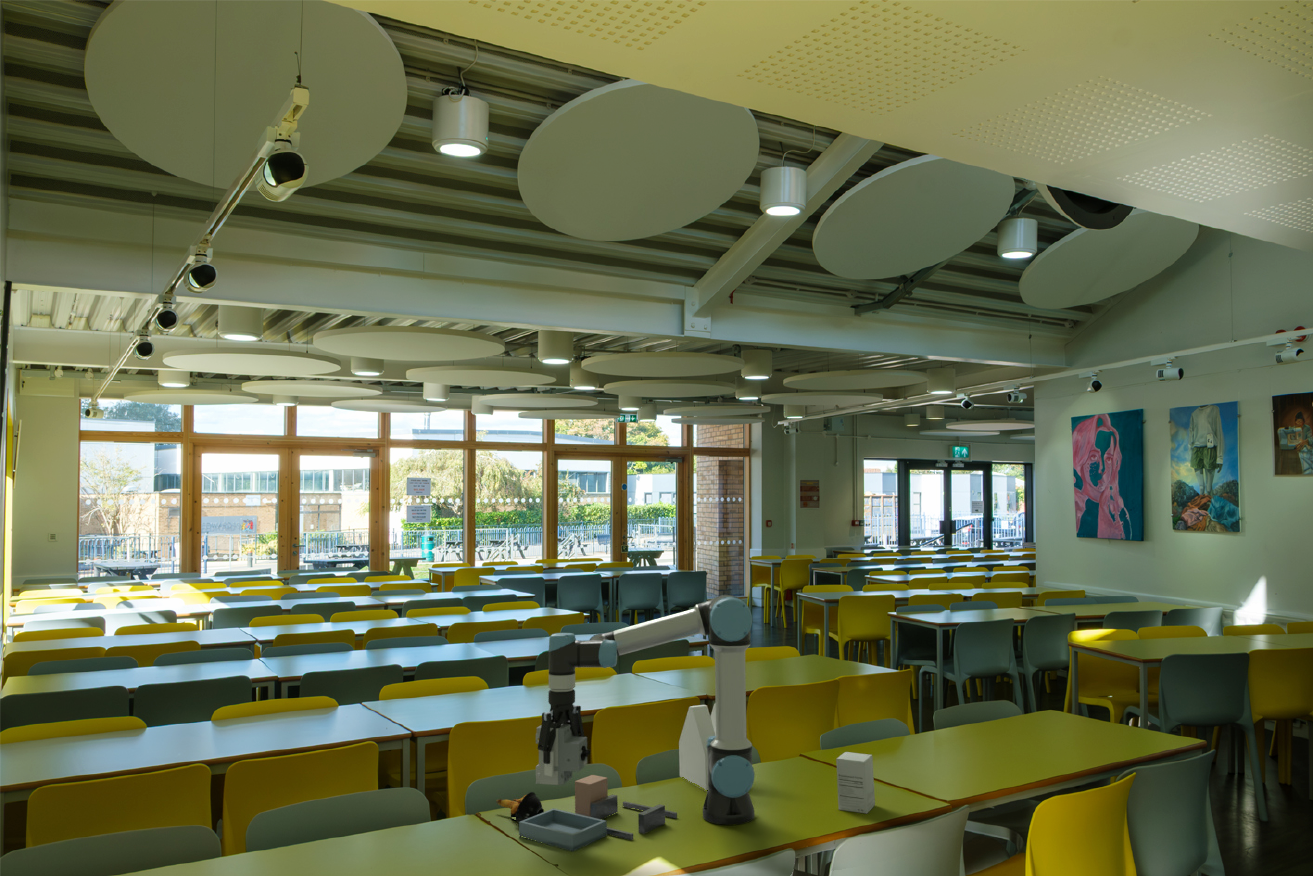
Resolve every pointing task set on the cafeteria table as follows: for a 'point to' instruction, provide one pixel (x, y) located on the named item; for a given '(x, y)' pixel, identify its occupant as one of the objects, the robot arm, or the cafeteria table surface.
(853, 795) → the supplement box
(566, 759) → the circuit breaker
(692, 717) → the milk carton
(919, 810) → the cafeteria table surface
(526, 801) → the fried shrimp in bowl
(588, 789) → the beige rectangular block
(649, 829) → the grey blocks
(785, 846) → the cafeteria table surface
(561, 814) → the tray
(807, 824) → the cafeteria table surface
